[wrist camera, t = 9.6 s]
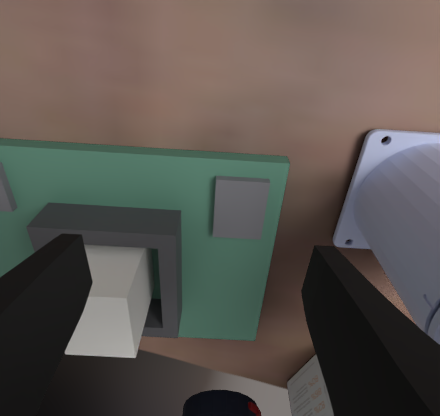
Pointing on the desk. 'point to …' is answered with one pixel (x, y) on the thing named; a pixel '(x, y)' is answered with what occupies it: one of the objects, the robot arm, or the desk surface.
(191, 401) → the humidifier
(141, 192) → the board
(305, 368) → the small box
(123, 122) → the desk surface
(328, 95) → the desk surface
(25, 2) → the desk surface
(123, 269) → the plug block
